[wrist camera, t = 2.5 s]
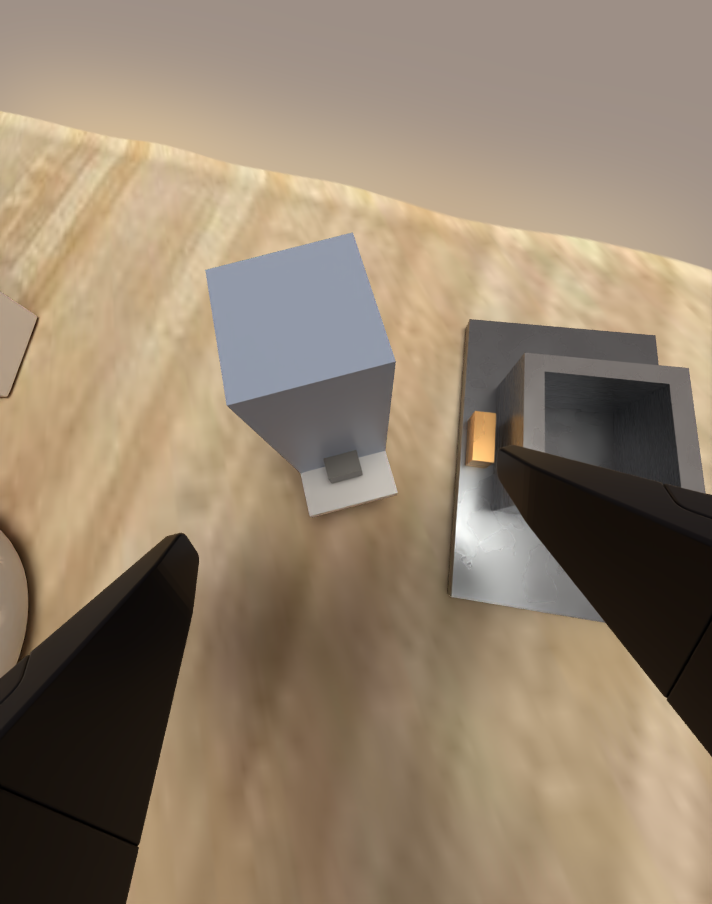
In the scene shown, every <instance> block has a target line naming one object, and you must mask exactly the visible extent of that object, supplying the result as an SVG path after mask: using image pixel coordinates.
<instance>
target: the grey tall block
mask: <svg viewBox="0 0 712 904" xmlns="http://www.w3.org/2000/svg"><path fill="white" fill-rule="evenodd" d="M205 271H206V277H207V283H208V290H209V296H210V302H211V309H212V315H213V321H214V328H215V334H216V340H217V347H218V353H219V359H220V366H221V372H222V379H223V385H224V391H225V398H226V404H227V406H228V407H229V408H230V409H231V410H232V411H233V412H234V413H235V414H237V415H238V416H239V417H240V418H241V419H242V420H243V421H244V422H245V423H246V424H247V425H249V426H250V427H251V428H252V429H253V430H254V431H255V432H256V433H257V434H258V435H259V436H261V437H262V438H263V439H264V440H265V441H266V442H267V443H268V444H269V445H270V446H271V447H273V448H274V449H275V450H276V451H277V452H278V453H279V454H280V455H281V456H282V457H283V458H285V459H286V460H287V461H288V462H289V463H290V464H291V465H292V466H293V467H294V468H295V469H297V470H298V471H299V472H300V473H301V478H302V483H303V487H304V492H305V497H306V501H307V506H308V511H309V515H310V517H316V516H320V515H324V514H327V513H331V512H335V511H339V510H342V509H346V508H350V507H354V506H357V505H361V504H365V503H369V502H372V501H376V500H380V499H384V498H387V497H391V496H395V495H397V493H398V492H397V488H396V485H395V482H394V478H393V475H392V472H391V468H390V465H389V461H388V458H387V455H386V451H385V449H386V440H387V431H388V423H389V414H390V406H391V397H392V389H393V380H394V371H395V363H396V361H395V358H394V355H393V352H392V349H391V346H390V343H389V340H388V337H387V334H386V331H385V328H384V325H383V322H382V319H381V316H380V313H379V310H378V307H377V304H376V301H375V298H374V295H373V292H372V289H371V286H370V283H369V280H368V277H367V274H366V271H365V268H364V265H363V262H362V259H361V256H360V253H359V250H358V247H357V244H356V241H355V238H354V235H353V233H349V234H345V235H341V236H337V237H333V238H329V239H325V240H321V241H318V242H314V243H310V244H306V245H302V246H298V247H294V248H290V249H286V250H282V251H278V252H274V253H270V254H266V255H262V256H259V257H255V258H251V259H247V260H243V261H239V262H235V263H231V264H227V265H223V266H219V267H215V268H211V269H207V270H205Z"/></svg>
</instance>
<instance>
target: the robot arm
mask: <svg viewBox="0 0 712 904" xmlns="http://www.w3.org/2000/svg"><path fill="white" fill-rule="evenodd" d="M497 475H498V478H499V480H500V482H501V484H502V485H503V487H504V488H505V490H506V492H507V493H508V495H509V496H510V498H511V500H512V501H513V503H514V504H515V506H516V508H517V509H518V511H519V512H520V514H521V516H522V517H523V519H524V520H525V522H526V523H527V524H528V526H529V527H530V528H531V530H532V531H533V532H534V534H535V535H536V536H537V537H538V539H539V540H540V541H541V542H542V544H543V545H544V546H545V547H546V549H547V550H548V551H549V552H550V554H551V555H552V556H553V557H554V559H555V560H556V561H557V562H558V564H559V565H560V566H561V568H562V569H563V570H564V571H565V573H566V574H567V575H568V576H569V578H570V579H571V580H572V581H573V583H574V584H575V585H576V586H577V588H578V589H579V590H580V591H581V593H582V594H583V595H584V596H585V598H586V599H587V600H588V601H589V603H590V604H591V605H592V606H593V608H594V609H595V610H596V611H597V613H598V614H599V615H600V617H601V618H602V619H603V620H604V622H605V623H606V624H607V625H608V627H609V628H610V629H611V630H612V632H613V633H614V634H615V635H616V637H617V638H618V639H619V640H620V642H621V643H622V644H623V645H624V647H625V648H626V649H627V650H628V652H629V653H630V654H631V655H632V657H633V658H634V659H635V660H636V662H637V663H638V664H639V666H640V667H641V668H642V669H643V671H644V672H645V673H646V674H647V676H648V677H649V678H650V679H651V681H652V682H653V683H654V684H655V686H656V687H657V688H658V689H659V691H660V692H661V693H662V694H663V696H664V697H666V698H667V701H668V702H669V704H670V705H671V706H672V707H673V709H674V710H675V711H676V712H677V714H678V715H679V716H680V717H681V719H682V720H683V721H684V722H685V724H686V725H687V726H688V727H689V729H690V730H691V731H692V733H693V734H694V735H695V736H696V738H697V739H698V740H699V741H700V743H701V744H702V745H703V746H704V748H705V749H706V750H707V751H708V753H709V754H710V755H711V756H712V495H710V494H705V493H701V492H697V491H693V490H689V489H685V488H681V487H677V486H673V485H670V484H662V483H661V482H658V481H654V480H650V479H646V478H642V477H638V476H634V475H630V474H626V473H622V472H619V471H615V470H611V469H607V468H603V467H599V466H595V465H591V464H587V463H583V462H579V461H576V460H572V459H568V458H564V457H560V456H556V455H552V454H548V453H544V452H540V451H537V450H533V449H529V448H525V447H521V446H517V445H509V446H505V447H502V448H499V450H498V452H497ZM198 566H199V556H198V553H197V551H196V550H195V548H194V547H193V545H192V544H191V542H190V541H189V539H188V538H187V536H186V535H185V534H184V533H177V534H174V535H170V536H167V537H165V538H164V539H163V540H162V541H161V542H159V543H158V544H157V545H156V546H155V547H154V548H152V549H151V550H150V551H149V552H148V553H147V554H145V555H144V556H143V557H142V558H141V559H139V560H138V561H137V562H136V563H135V564H134V565H132V566H131V567H130V568H129V569H128V570H127V571H125V572H124V573H123V574H122V575H121V576H120V577H118V578H117V579H116V580H115V581H114V582H113V583H111V584H110V585H109V586H108V587H107V588H105V589H104V590H103V591H102V592H101V593H100V594H98V595H97V596H96V597H95V598H94V599H93V600H91V601H90V602H89V603H88V604H87V605H86V606H84V607H83V608H82V609H81V610H80V611H79V612H77V613H76V614H75V615H74V616H73V617H71V618H70V619H69V620H68V621H67V622H66V623H64V624H63V625H62V626H61V627H60V628H59V629H57V630H56V631H55V632H54V633H53V634H52V635H50V636H49V637H48V638H47V639H46V640H45V641H43V642H42V643H41V644H40V645H39V646H37V647H36V648H35V649H34V650H33V651H32V652H31V653H30V655H27V656H26V657H24V658H23V659H22V660H21V661H20V662H19V663H17V664H16V665H15V666H14V667H13V668H12V669H10V670H9V671H8V672H7V673H6V674H4V675H3V676H2V677H1V678H0V904H126V901H127V897H128V893H129V888H130V884H131V880H132V875H133V871H134V867H135V862H136V858H137V854H138V849H139V847H138V845H139V843H140V839H141V835H142V831H143V826H144V822H145V818H146V814H147V809H148V805H149V801H150V796H151V792H152V788H153V783H154V779H155V775H156V770H157V766H158V762H159V757H160V753H161V749H162V744H163V740H164V736H165V731H166V727H167V723H168V718H169V714H170V710H171V705H172V701H173V697H174V692H175V688H176V684H177V679H178V675H179V671H180V666H181V662H182V658H183V653H184V649H185V645H186V640H187V636H188V632H189V627H190V623H191V618H192V613H193V607H194V599H195V591H196V583H197V575H198Z"/></svg>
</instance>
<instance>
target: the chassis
mask: <svg viewBox="0 0 712 904" xmlns="http://www.w3.org/2000/svg"><path fill="white" fill-rule="evenodd" d="M509 445H517V446H521V447H525V448H529V449H533V450H537V451H540V452H544V453H548V454H552V455H556V456H560V457H564V458H568V459H572V460H576V461H579V462H583V463H587V464H591V465H595V466H599V467H603V468H607V469H611V470H615V471H619V472H622V473H626V474H630V475H634V476H638V477H642V478H646V479H650V480H654V481H658V482H661V483H662V484H670V485H673V486H677V487H681V488H685V489H689V490H693V491H697V492H701V493H705V486H704V478H703V471H702V463H701V456H700V448H699V441H698V434H697V426H696V419H695V411H694V404H693V396H692V389H691V382H690V374H689V368H682V367H671V366H661V365H658V356H657V346H656V337H655V335H644V334H632V333H621V332H609V331H598V330H586V329H575V328H564V327H552V326H541V325H529V324H518V323H506V322H495V321H483V320H472V319H470V320H469V322H468V325H467V327H466V334H465V348H464V363H463V377H462V391H461V406H460V420H459V435H458V449H457V464H456V478H455V492H454V507H453V521H452V536H451V550H450V565H449V579H448V595H450V596H451V597H455V598H461V599H467V600H473V601H479V602H485V603H491V604H497V605H503V606H509V607H515V608H521V609H527V610H533V611H539V612H545V613H551V614H557V615H563V616H569V617H575V618H581V619H587V620H593V621H599V622H604V620H603V619H602V618H601V617H600V615H599V614H598V613H597V611H596V610H595V609H594V608H593V606H592V605H591V604H590V603H589V601H588V600H587V599H586V598H585V596H584V595H583V594H582V593H581V591H580V590H579V589H578V588H577V586H576V585H575V584H574V583H573V581H572V580H571V579H570V578H569V576H568V575H567V574H566V573H565V571H564V570H563V569H562V568H561V566H560V565H559V564H558V562H557V561H556V560H555V559H554V557H553V556H552V555H551V554H550V552H549V551H548V550H547V549H546V547H545V546H544V545H543V544H542V542H541V541H540V540H539V539H538V537H537V536H536V535H535V534H534V532H533V531H532V530H531V528H530V527H529V526H528V524H527V523H526V522H525V520H524V519H523V517H522V516H521V514H520V512H519V511H518V509H517V508H516V506H515V504H514V503H513V501H512V500H511V498H510V496H509V495H508V493H507V492H506V490H505V488H504V487H503V485H502V484H501V482H500V480H499V478H498V475H497V452H498V450H499V448H502V447H505V446H509ZM705 494H706V493H705Z"/></svg>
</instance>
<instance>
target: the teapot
mask: <svg viewBox="0 0 712 904" xmlns="http://www.w3.org/2000/svg"><path fill="white" fill-rule="evenodd" d="M27 617H28V589H27V580H26V576H25V571H24V568H23V565H22V563H21V560H20V558H19V556H18V554H17V552H16V550H15V548H14V547H13V545H12V543H11V542H10V540H9V539H8V538H7V537H6V536H5V535H4V534H3V532H2V531H1V530H0V678H1V677H2V676H3V675H4V674H6V673H7V672H8V671H9V670H10V669H12V668H13V667H14V666H15V665H16V664H17V661H18V658H19V656H20V652H21V648H22V645H23V641H24V637H25V632H26V625H27Z"/></svg>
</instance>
